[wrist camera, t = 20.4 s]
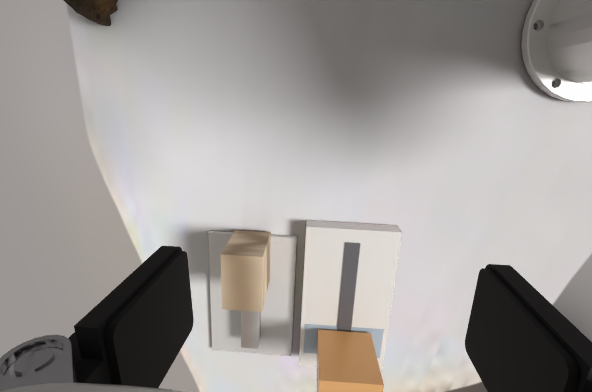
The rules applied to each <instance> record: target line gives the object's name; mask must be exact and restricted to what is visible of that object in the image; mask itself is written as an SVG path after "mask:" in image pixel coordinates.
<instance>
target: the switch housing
mask: <svg viewBox="0 0 592 392" xmlns="http://www.w3.org/2000/svg"><path fill="white" fill-rule="evenodd" d="M401 237H402V231H401V230H400V228H399V227H398V225H383V224H366V223H348V222H331V221H314V220H307V223H306V241H305V259H304V277H303V295H302V313H301V331H300V348H299V366H309V367H317V352H316V351H317V338H318V330H332V331H346V332H360V333H371V336H372V340H373V344H374V348H375V352H376V356H377V360H378V364H379V368H380V372H382V368H383V361H384V354H385V347H386V340H387V334H388V327H389V320H390V313H391V306H392V299H393V292H394V285H395V278H396V272H397V265H398V258H399V251H400V244H401Z"/></svg>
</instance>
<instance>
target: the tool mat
mask: <svg viewBox="0 0 592 392" xmlns="http://www.w3.org/2000/svg"><path fill="white" fill-rule="evenodd" d="M233 233H234V232H219V231H209V232H208V243H209V272H210V301H211V330H212V350H219V351H232V352H246V353H260V354H273V355H287V356H291V350H292V329H293V308H294V287H295V266H296V245H297V236H286V235H271V243H270V281H269V285H268V289H267V293H266V298H265V302H264V306H263V310H262V312H261V337H260V342H259V346H258V349H255V348H241V310H226V309H222V288H221V253H222V251H223V250H224V248H225V246H226V245H227V243H228V241H229V240H230V238H231V236H232V235H233Z"/></svg>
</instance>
